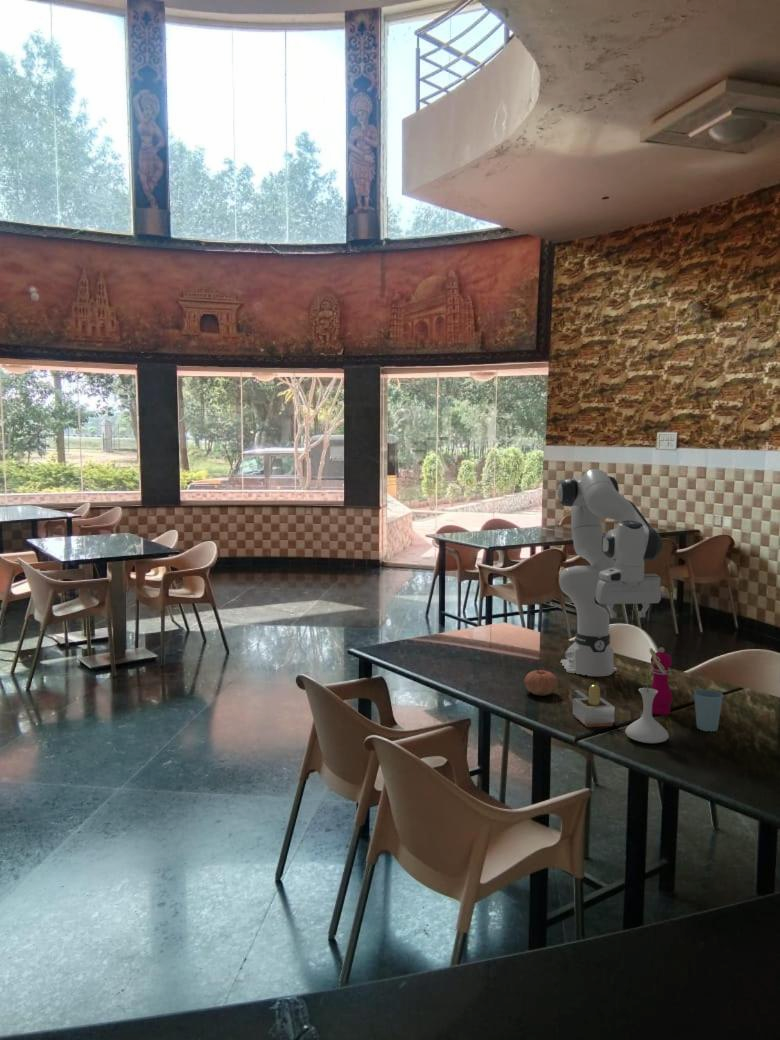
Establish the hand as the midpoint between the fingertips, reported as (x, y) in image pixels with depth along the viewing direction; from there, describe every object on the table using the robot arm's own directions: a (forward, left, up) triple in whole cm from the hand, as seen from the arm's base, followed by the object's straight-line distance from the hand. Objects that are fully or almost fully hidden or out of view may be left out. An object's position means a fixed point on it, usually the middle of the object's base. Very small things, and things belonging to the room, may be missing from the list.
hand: (627, 617), depth 236 cm
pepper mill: (+7, +8, -28) cm, 30 cm away
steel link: (+8, -16, -27) cm, 32 cm away
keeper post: (+13, -16, -28) cm, 35 cm away
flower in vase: (+28, -7, -28) cm, 40 cm away
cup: (+23, +14, -28) cm, 39 cm away
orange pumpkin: (-15, -22, -28) cm, 39 cm away
